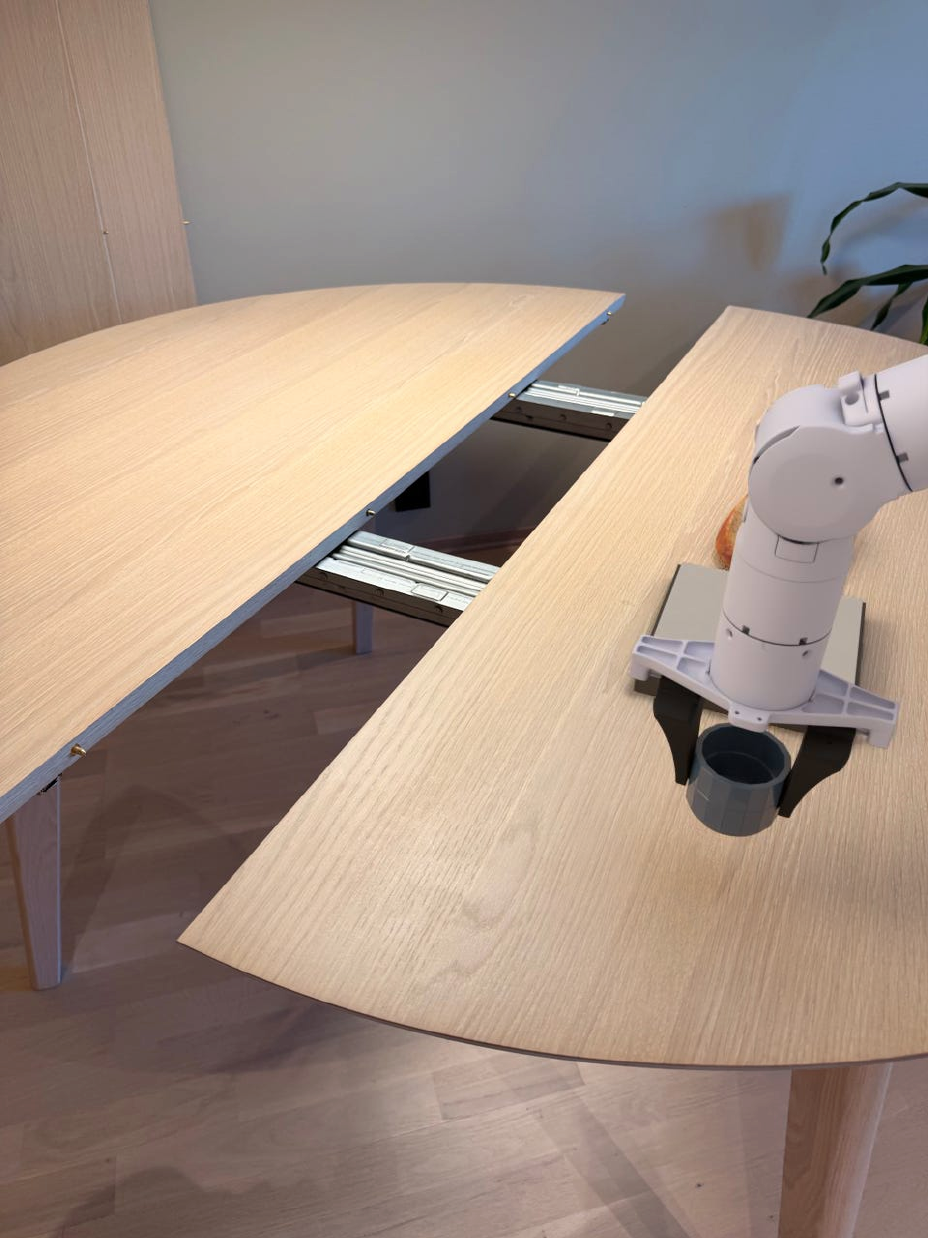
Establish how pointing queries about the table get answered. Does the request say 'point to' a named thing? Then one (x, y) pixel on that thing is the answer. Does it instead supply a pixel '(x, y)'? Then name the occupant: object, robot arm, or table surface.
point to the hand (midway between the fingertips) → (733, 789)
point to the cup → (737, 779)
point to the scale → (698, 613)
